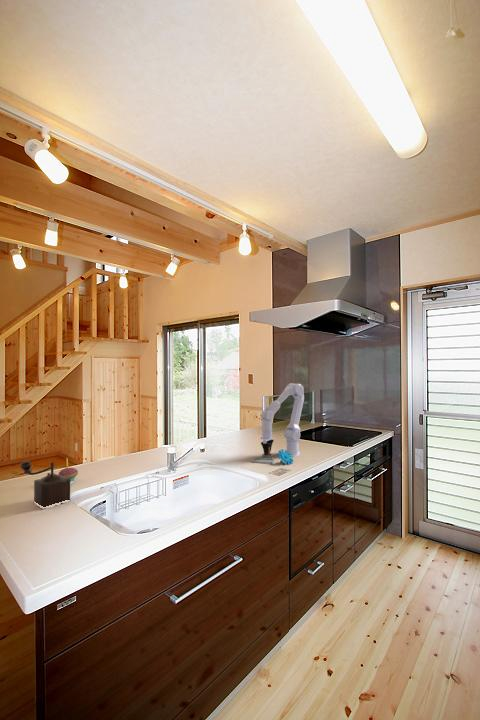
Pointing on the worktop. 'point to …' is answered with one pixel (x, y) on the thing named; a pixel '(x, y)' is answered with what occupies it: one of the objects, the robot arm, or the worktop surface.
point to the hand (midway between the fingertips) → (267, 453)
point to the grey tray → (263, 460)
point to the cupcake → (69, 472)
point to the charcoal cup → (267, 456)
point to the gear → (285, 457)
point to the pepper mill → (48, 486)
